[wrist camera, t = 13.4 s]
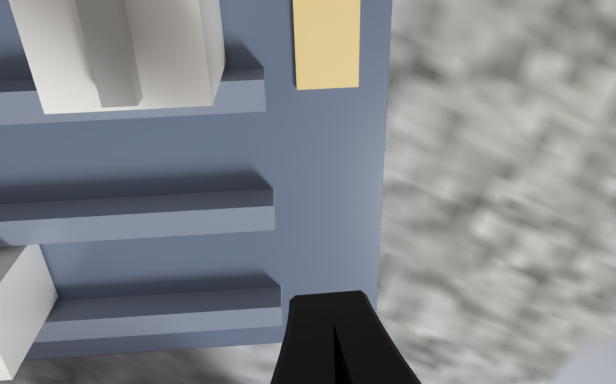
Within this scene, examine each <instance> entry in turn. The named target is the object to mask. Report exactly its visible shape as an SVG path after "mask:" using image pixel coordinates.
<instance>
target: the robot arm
mask: <svg viewBox="0 0 616 384" xmlns="http://www.w3.org/2000/svg"><path fill="white" fill-rule="evenodd" d="M270 384H421V382H420V381H419V379H418V378H417V377H416V375H415V374H414V372H413V371H412V369H411V368H410V367H409V365H408V364H407V362H406V361H405V360H404V358H403V357H402V355H401V354H400V352H399V351H398V349H397V348H396V346H395V344H394V343H393V341H392V340H391V338H390V336H389V335H388V333H387V332H386V330H385V328H384V327H383V325H382V323H381V322H380V320H379V318H378V316H377V315H376V313H375V311H374V309H373V307H372V305H371V303H370V301H369V299H368V297H367V295H366V294H365V293H364V292H362V291H361V290H355V291H343V292H330V293H318V294H305V295H295V296H294V297H293V298H292V299H291V300H289V313H288V319H287V325H286V330H285V335H284V339H283V343H282V347H281V351H280V354H279V358H278V361H277V364H276V367H275V371H274V374H273V377H272V380H271V383H270Z"/></svg>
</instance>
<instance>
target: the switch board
mask: <svg viewBox="0 0 616 384" xmlns="http://www.w3.org/2000/svg"><path fill="white" fill-rule="evenodd" d="M219 4H220V12H221V21H222V30H223V39H224V47H225V56H226V63H225V67H224V70H223V73H222V77H221V80H220V83H219V86H218V90H217V93H216V96H215V100H214V103H213V106H200V107H180V108H160V109H140V110H121V111H101V112H81V113H61V114H44V111H43V108H42V105H41V102H40V99H39V95H38V92H37V89H36V86H35V83H34V80H33V76H32V73H31V70H30V67H29V64H28V61H27V57H26V54H25V51H24V48H23V45H22V41H21V38H20V35H19V32H18V29H17V26H16V22H15V19H14V16H13V13H12V10H11V7H10V3H9V0H0V247H4V246H20V245H37V244H39V246H40V249H41V252H42V254H43V257H44V260H45V262H46V265H47V268H48V270H49V273H50V276H51V278H52V281H53V284H54V286H55V289H56V292H57V294H58V298H57V300H56V302H55V304H54V305H53V307H52V309H51V311H50V313H49V314H48V316H47V318H46V320H45V322H44V323H43V325H42V327H41V329H40V331H39V333H38V334H37V336H36V338H35V340H34V342H33V343H32V345H31V347H30V349H29V351H28V352H27V354H26V356H25V358H24V360H35V359H50V358H64V357H79V356H93V355H108V354H122V353H137V352H151V351H166V350H180V349H195V348H209V347H224V346H238V345H253V344H267V343H282V342H283V339H284V335H285V330H286V325H287V319H288V313H289V300H291V299H292V298H293V297H294V296H295V295H305V294H318V293H330V292H343V291H355V290H361V291H362V292H364V293H365V294H366V295H367V297H368V299H369V301H370V303H371V305H372V307H373V309H374V311H375V313H376V307H377V287H378V268H379V248H380V229H381V209H382V190H383V170H384V151H385V131H386V112H387V92H388V73H389V53H390V34H391V14H392V0H219Z"/></svg>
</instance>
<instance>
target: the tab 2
mask: <svg viewBox="0 0 616 384" xmlns="http://www.w3.org/2000/svg"><path fill="white" fill-rule="evenodd" d="M9 3H10V7H11V10H12V13H13V16H14V19H15V22H16V26H17V29H18V32H19V35H20V38H21V41H22V45H23V48H24V51H25V54H26V57H27V61H28V64H29V67H30V70H31V73H32V76H33V80H34V83H35V86H36V89H37V92H38V95H39V99H40V102H41V105H42V108H43V111H44V114H61V113H81V112H101V111H121V110H140V109H160V108H180V107H200V106H213V103H214V100H215V96H216V93H217V90H218V86H219V83H220V80H221V77H222V73H223V70H224V67H225V63H226V56H225V47H224V39H223V30H222V21H221V12H220V4H219V0H9Z"/></svg>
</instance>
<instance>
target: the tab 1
mask: <svg viewBox="0 0 616 384" xmlns="http://www.w3.org/2000/svg"><path fill="white" fill-rule="evenodd" d="M57 298H58V294H57V292H56V289H55V286H54V284H53V281H52V278H51V276H50V273H49V270H48V268H47V265H46V262H45V260H44V257H43V254H42V252H41V249H40V246H39V244H37V245H20V246H4V247H0V381H2V380H13V378H14V376H15V374H16V372H17V371H18V369H19V367H20V365H21V363H22V362H23V360H24V358H25V356H26V354H27V352H28V351H29V349H30V347H31V345H32V343H33V342H34V340H35V338H36V336H37V334H38V333H39V331H40V329H41V327H42V325H43V323H44V322H45V320H46V318H47V316H48V314H49V313H50V311H51V309H52V307H53V305H54V304H55V302H56V300H57Z"/></svg>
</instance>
